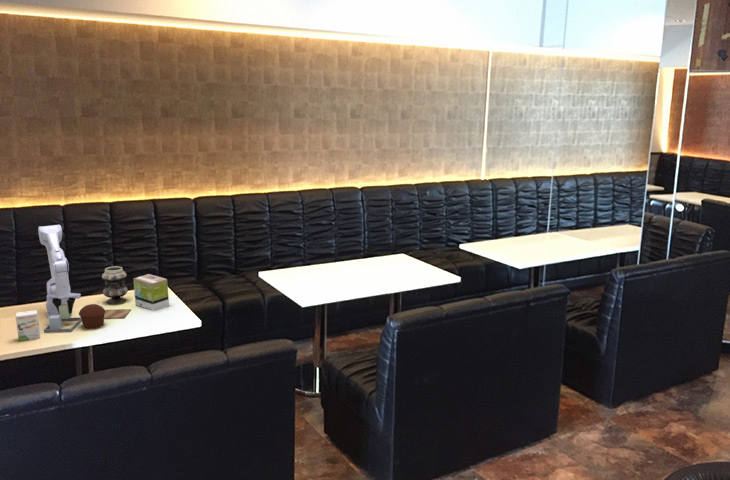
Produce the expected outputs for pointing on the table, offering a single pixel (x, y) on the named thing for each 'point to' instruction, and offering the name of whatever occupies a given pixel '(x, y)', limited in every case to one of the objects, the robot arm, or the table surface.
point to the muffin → (92, 316)
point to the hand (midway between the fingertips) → (65, 313)
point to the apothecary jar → (114, 285)
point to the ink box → (27, 325)
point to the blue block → (55, 322)
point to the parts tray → (48, 330)
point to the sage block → (64, 311)
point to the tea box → (151, 292)
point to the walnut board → (116, 313)
